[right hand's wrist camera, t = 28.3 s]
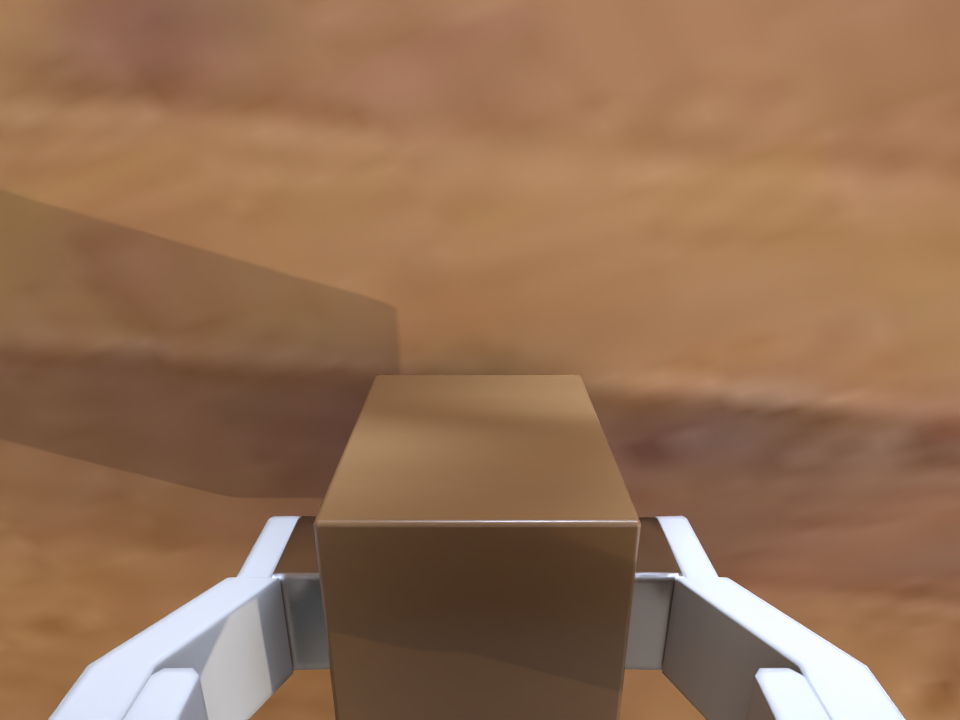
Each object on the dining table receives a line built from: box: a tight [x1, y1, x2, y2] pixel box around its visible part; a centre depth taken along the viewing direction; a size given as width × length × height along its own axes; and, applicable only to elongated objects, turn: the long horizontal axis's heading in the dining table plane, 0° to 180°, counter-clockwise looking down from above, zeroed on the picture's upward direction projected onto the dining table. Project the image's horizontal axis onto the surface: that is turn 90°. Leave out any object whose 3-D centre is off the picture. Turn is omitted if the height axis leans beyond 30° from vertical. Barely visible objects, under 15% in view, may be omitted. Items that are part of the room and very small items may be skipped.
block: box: [313, 375, 641, 720], centre depth 11 cm, size 4×5×5 cm
